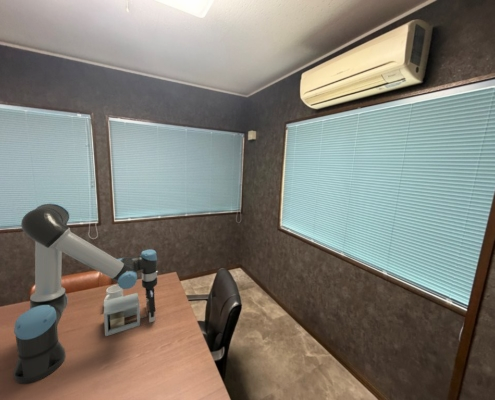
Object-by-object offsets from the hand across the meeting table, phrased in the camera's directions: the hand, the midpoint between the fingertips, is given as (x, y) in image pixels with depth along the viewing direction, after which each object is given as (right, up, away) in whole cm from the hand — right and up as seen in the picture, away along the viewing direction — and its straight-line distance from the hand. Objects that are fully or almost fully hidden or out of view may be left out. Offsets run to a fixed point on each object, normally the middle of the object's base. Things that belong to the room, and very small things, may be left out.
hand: (150, 314), depth 120 cm
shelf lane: (-11, -1, -7) cm, 13 cm away
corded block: (-7, -1, -4) cm, 9 cm away
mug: (-25, +2, +6) cm, 25 cm away
